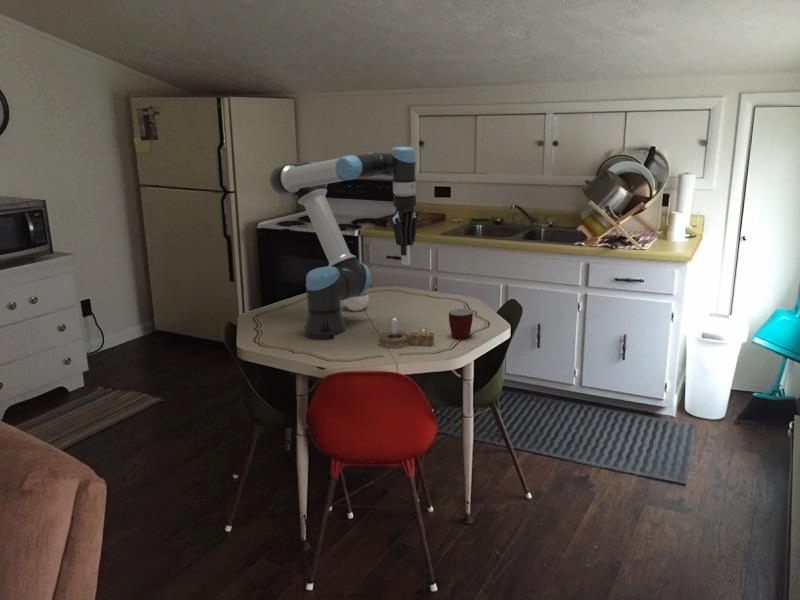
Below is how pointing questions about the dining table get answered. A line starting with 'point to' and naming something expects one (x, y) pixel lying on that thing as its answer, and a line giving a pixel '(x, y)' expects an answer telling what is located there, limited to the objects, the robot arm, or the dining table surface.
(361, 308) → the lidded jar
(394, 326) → the post
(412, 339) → the flange lever
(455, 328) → the mug
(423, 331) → the dowel
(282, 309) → the dining table surface
